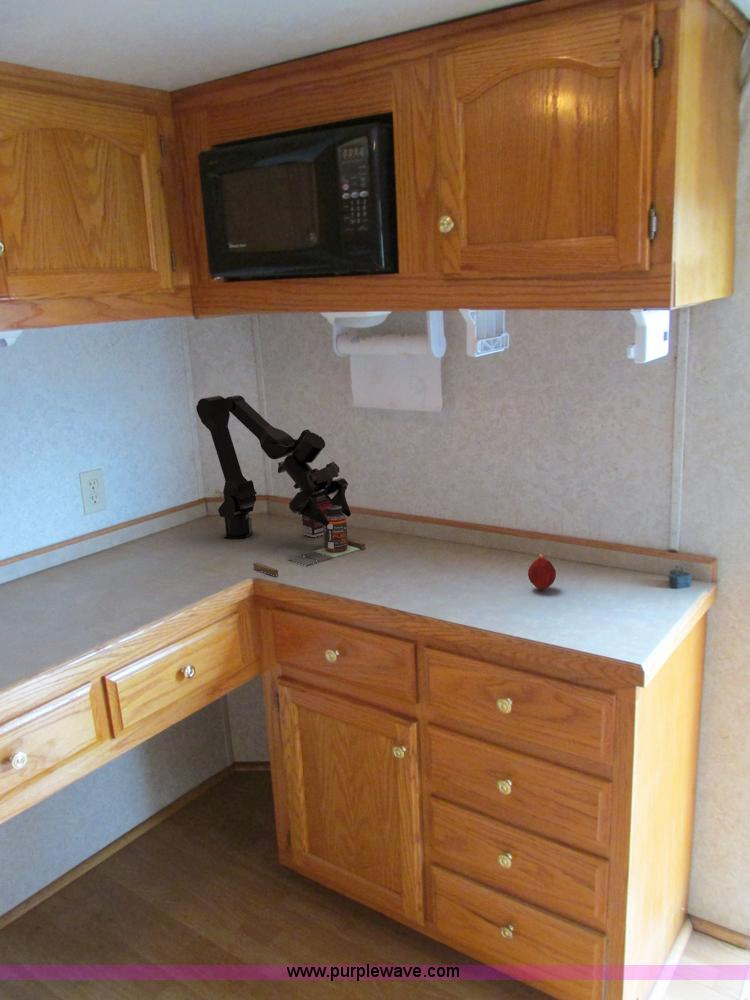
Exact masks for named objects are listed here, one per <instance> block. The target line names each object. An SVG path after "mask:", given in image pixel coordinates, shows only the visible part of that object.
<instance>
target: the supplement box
mask: <svg viewBox="0 0 750 1000" xmlns="http://www.w3.org/2000/svg"><path fill="white" fill-rule="evenodd" d="M333 480H334V478H332V479H330V480H329V484H330V483H331V482H332V481H333ZM329 484H328V485H326V488H327V487H328V486H329ZM299 492H301V490H300V489H299ZM321 494H322V493H321ZM329 502H330V500H328V499H327V498H326V497H325V496H324V497H322V498H319V499H317V505H318V507H319V508H320V509H321V511H322V512H323V514H324V515H326V514H327V512H326V508H327V507H328V506H333V505H332V504H331V503H329ZM301 520H302V522H301V523H302V528H303V529H302V531H303V534H302V535H303V536H305V535H307V536H306V537H308V536H310V537H309V538H311V537H315V538H318V537H321V535H322V536H324V527H323V524H322V523H320V522H317V521H315V520H313V519H311V518H309V517H306V516H304V515H301ZM317 536H318V537H317Z"/></svg>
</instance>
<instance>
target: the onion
mask: <svg viewBox="0 0 750 1000" xmlns="http://www.w3.org/2000/svg"><path fill="white" fill-rule="evenodd" d="M527 577H528V580H529V582H530V583H531V584H532V585H533V586H534V587H535V588H536V589H538V590H540V591H545V590H546V589H547V588H549V587H551V586H552V585H553V583H554V582H555V579H556V577H557V570H556V569H555V567H554V565H553V563H552V562H551V561H550V560H548V558H546V557H545V556H544V555H543V554H542V553H539V555H538V558H537V559H535V560H534V561H533V562H532V563H531V564H530V565H529V568H528V570H527Z"/></svg>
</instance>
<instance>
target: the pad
mask: <svg viewBox="0 0 750 1000" xmlns="http://www.w3.org/2000/svg"><path fill="white" fill-rule="evenodd" d="M360 550H361V549H359V548H356V547H352V546H349V545H347V549H346V550H344V551H341V552H329V551H326V550H325V547H321V548H319V549H316V550H314V551H315V552H316V553H317V552H318V553H320V554H324V555H327V556H329V557H333V558H332V559H334V558H339V557H341V556H344V555H345V556H346V555H347V554H351V553H355V552H357V551H360ZM338 556H339V557H338Z"/></svg>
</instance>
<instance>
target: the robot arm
mask: <svg viewBox="0 0 750 1000" xmlns="http://www.w3.org/2000/svg"><path fill="white" fill-rule="evenodd" d="M195 409H196V413H197V415H198V418H199V420H200V422H201V424H203V426H205V427H206V429H207V430H208V431H209V432H210V436H211V439H212V442H213V445H214V448H215V452H216V454H217V457H218V462H219V464H220V468H221V471H222V474H223V478H224V482H225V483H224V487H223V492H222V494H223V499H224V501H223V502H222V503H221V505H220V506H219V508H218V509H217V511H218V513H219V517H221V518H224V526H225V535H224V536H223V539H246V538H248V537H249V536H250V535H251V534H252V533H253V532H254V530H253V522H252V517H250V513H251V512H253V511H254V507H255V504H256V501H257V491H256V489H255V486H254V481H253V480H251V479H250V480H248V479H246V477H244V475H243V471H242V469H241V465H240V462H239V459H238V456H237V452H236V449H235V446H234V443H233V440H232V439H233V438H232V435H231V432H230V429H229V421H230V418H231V417H230V416H231V414H232V415H233V416H234V417H235V418H236V419H237V420H238V421H239V422H240V423H241V424H242V425H243V426H244V427H245V428H246V429H247V430H248V431H249V432H250V433H252V434H253V435H254V436H255V437H256V438H257V439H258V441H259V444H260V448H261V449H262V450H263V452H264V453H265V455H266V456H267V457H268V458H269V459H271V460H279V459H281V458H282V459H283V458H284V460H283V461H280V462H278V466H277V467H278V468H277V473H278V474H281V473H285V472H286V473H287V475H288V477H290V478H291V479H292V481H293V482H294V485H293V487H294V489H296V490H297V489H299V491H298V492H297V493H296V494H295V495H294V497H293V498H292V499H291V500H290V502H289V503H288V506H289V510H290V511H291V513H292V514H294V515H295V514H298V516H302V515H304V516H306V517H309V518H311V519H313V520H315V521H317V522H320V523H322V524H324V525H326V526H327V525H329V521H328V520H327V518H326V516H325V515H324V514H323V512H322V511H321V509H320V508H319V507H318V505H317V499H319V498H322V497H324V496H325V497H326V498H327V499H328V500H330V502H329V503H331V504H332V505H338V506H341V507H342V513H343V514H344V515H345V516H346V517H347V518H348V517H349V518H350V517H351V515H352V512H351V510H350V507H349V504H348V502H347V498H346V491H347V490H348V486H349V482H348V481H347V480H346V479H345V478H343V477H339V476H340V475H339V473H340V471H341V470H340V467H339V465H338V464H337V463H336V462H335V461H332V462H329V463H326V465H325V467H323V468H321V469H319V468H312V467H311V465H310V464H311V463H314V461H315V460H316V459H317V457H318V456H319V455H320V454H321V453H322V451H323V450H324V449H325V448H326V442H325V440H324V438H323V437H322V436H321V435H318V434H317V433H315V432H312V431H310V429H308V428H307V429H304V430H302V431H301V433H300V435H299V437H298V438H297V439H295V438H294V437H293V436H292V435H290V434H289V433H287V432H285V431H284V430H282V429H280V428H277V427H274V426H273V425H271V424H270V423H269V422H268V421H267V420H266V419H265V418H264V417H262V415H260V413H258V411H256V410H255V409H254V408H253V407H252V406H251V405H250V404H249V403H248V402H247V401H246V400H245V398H244V397H243V396H242V395H241V394H240V395H239V394H237V395H231V396H228V397H227V396H226V398H225V397H224V396H223V395H222V396H221V395H215V396H209V397H204V398H203V397H202V398H201V399H199V400H198V401H197V405H196V408H195ZM338 477H339V478H338ZM332 478H333V481H332V482H331V483H330V484H329V480H330V479H332ZM334 478H336V479H334ZM328 484H329V486H328V487H327V488H326V485H328ZM300 490H301V492H300ZM321 493H322V494H321Z"/></svg>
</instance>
